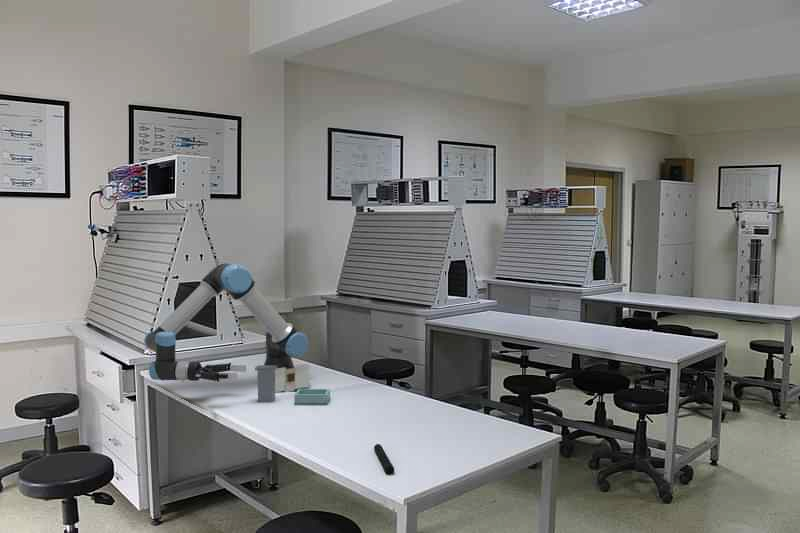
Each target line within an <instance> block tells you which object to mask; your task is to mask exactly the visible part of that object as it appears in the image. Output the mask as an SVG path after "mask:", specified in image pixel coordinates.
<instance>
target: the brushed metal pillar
mask: <svg viewBox="0 0 800 533" xmlns="http://www.w3.org/2000/svg"><path fill="white" fill-rule="evenodd" d="M276 369H277V365H264V364H261V365H256V366H255V367H254V370H255V371H257V403H274V401H275V400H276V392H275V370H276Z"/></svg>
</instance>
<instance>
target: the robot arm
mask: <svg viewBox="0 0 800 533" xmlns="http://www.w3.org/2000/svg"><path fill="white" fill-rule="evenodd" d="M223 291H226V292H227V294H229V296H230V297H231V298H232V299H233V300H234V301H239V302H241V303H242V305H243V306H244V307H245V308H246V309H247V310H248V311H249V312H250V313H251V314H252V315H253V317H254V318H255V319H256V320H257V321H258V322H259V323H260V324H261V325H262V326H263V328H264V329H265V356H266V357H265V361H264V364H263V365H277V368H283V367H286V369H290V368H295V364H294V362H293V360H292V358H294V359H295V358H300V357H301V356H303V355H304V354H305V353H306V351H307V350H308V346H309V340H308V337H307V336H306V334H304V333H302V332H299V330H297V328H296V327H295V326H294V325H293V324H292V323H290V322H286V321H285V320H284V318H283V317H282V316H281V315H280V314H279V313H278V312H277V311H276V310H275V309H274V307H273V306H272V305H271V304H270V303H269V302H268V300H267V299H266V298H265V297H264V296H263V294H261V293H260V292H259V290H258V289H257V288H256V282H255V281H254V279H253V277H252V274H251V272H250V271H249V269H248V268H247V267H244V266H243V265H242V264H241V265H240V264H235V263H234V264H233V263H221V264H217V265H216V266H214V268H212V269H211V270H210V271H209V272H208V273H207V274H206V275H205V276H204V277H203V278H202V279H201V280H200V285H198V287H196V289H195V290H193V292H191V294H189V296H188V297H187V298H186V299H184V300H183V301H182V303H180V305H179V306H178V307H177V308H175V310H174V311H172V313H171V314H170V315H169V316H168V317H167V318H165V320H163V321H162V322H161V324H160V325H159V326H158V327H156V329H155V330H153V331H150V332H148V333H147V334H146V335H145V337H144V338H143V339H144V340H143V342H144V345H145V346H146V347H147V348H148V349H149V350H151V351H153V352H155V361H152V362H151V363H150V365H149V369H148V373H149V377H150V378H151V380H155V381H181V382H182V383H184V382H185V381H195V382H197V381H200V380H201V379H202V380H207V381H213V382H215V381H216V383H217V382H220V380H226V381H227V380H229V381H230V380H232V381H233V380H238V372H243V373H246V372H247V364H232V363H231V362H228V363H219V364H218V363H217V364H206V365H205V366H202V364H201V362H199V361H191V362H190V361H176V343H177V342H176V341H177V339H176V335H177V334H178V333H179V332H180V331H181V330H182V329H183V328H184V327H185V326H186V325H187V324H188V323H189V322H190V321H191V320H192V319H193V318H194V317H195V316H196V315H197V313H199V312H200V311H201V310H202V309H203V308H204V306H206V304H208V303H209V302H210V300H212V298H213V297H218V296H219V294H220V293H222V292H223Z"/></svg>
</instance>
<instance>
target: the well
mask: <svg viewBox="0 0 800 533" xmlns="http://www.w3.org/2000/svg"><path fill="white" fill-rule="evenodd" d="M293 397H294V400H293V401H294V406H328V404H329V402H330V399H331V389H330V388H298V389H296V392H295V394H294V396H293Z"/></svg>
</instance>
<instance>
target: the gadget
mask: <svg viewBox="0 0 800 533" xmlns="http://www.w3.org/2000/svg"><path fill="white" fill-rule="evenodd" d="M373 451H374V452H375V453H376V456H377V458H378V460H379V462H380V464H381V466H382V468H383V471H384V473H385V474H386V475H393V474H394V473H395V467H394V465H393V464H392V462H391V460H390V458H389V457H388V455H387V454H386V452H385V450H384V448H383V445H382V444H380V443H376V444H375V445H374V446H373Z"/></svg>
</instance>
